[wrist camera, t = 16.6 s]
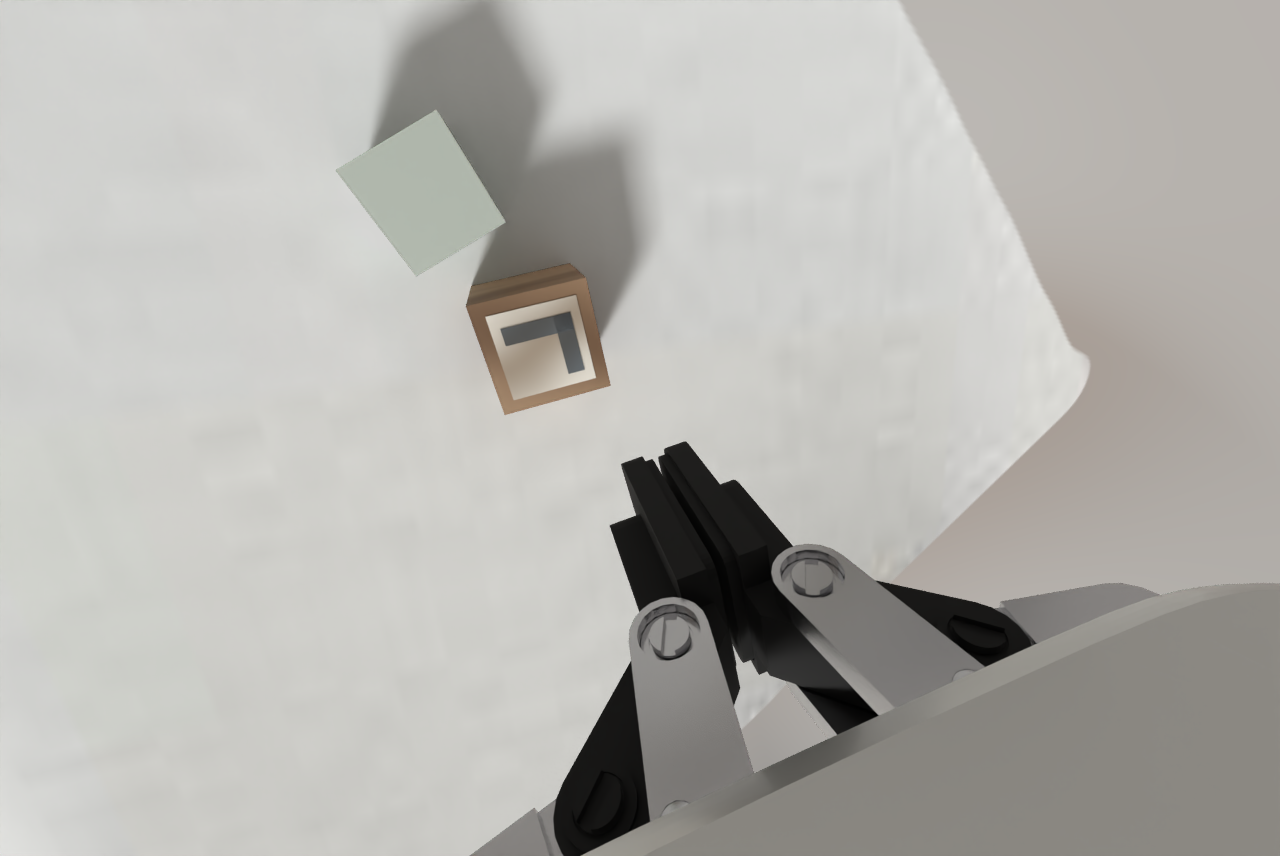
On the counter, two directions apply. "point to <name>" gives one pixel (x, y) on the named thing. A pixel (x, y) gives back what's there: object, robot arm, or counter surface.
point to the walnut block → (538, 336)
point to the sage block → (423, 193)
